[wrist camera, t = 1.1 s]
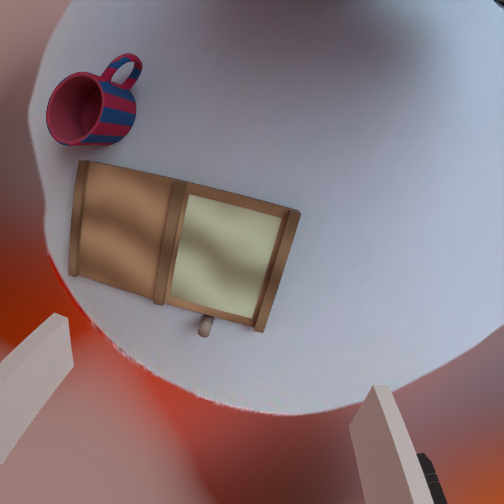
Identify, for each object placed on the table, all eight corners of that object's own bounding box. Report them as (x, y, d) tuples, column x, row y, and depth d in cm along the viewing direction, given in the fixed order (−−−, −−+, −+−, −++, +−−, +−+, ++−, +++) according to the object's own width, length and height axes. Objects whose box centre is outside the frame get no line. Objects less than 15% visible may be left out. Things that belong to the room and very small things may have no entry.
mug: (73, 114, 28) (36, 109, 21) (140, 51, 26) (112, 31, 19) (102, 158, 29) (66, 161, 23) (174, 95, 27) (150, 80, 21)
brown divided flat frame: (87, 160, 29) (72, 161, 27) (298, 210, 30) (302, 216, 27) (75, 281, 34) (63, 291, 31) (259, 336, 35) (258, 351, 32)
